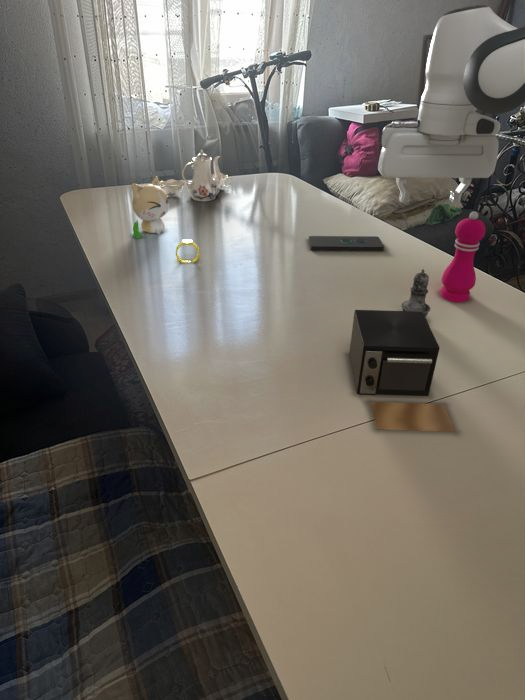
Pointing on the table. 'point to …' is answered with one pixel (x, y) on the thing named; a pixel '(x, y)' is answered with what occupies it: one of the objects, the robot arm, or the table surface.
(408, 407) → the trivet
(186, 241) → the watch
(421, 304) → the gray stone statue
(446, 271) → the pepper mill
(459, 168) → the robot arm
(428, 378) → the oven
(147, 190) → the kitten
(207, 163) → the chinaware
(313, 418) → the table surface
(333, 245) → the smart home device
